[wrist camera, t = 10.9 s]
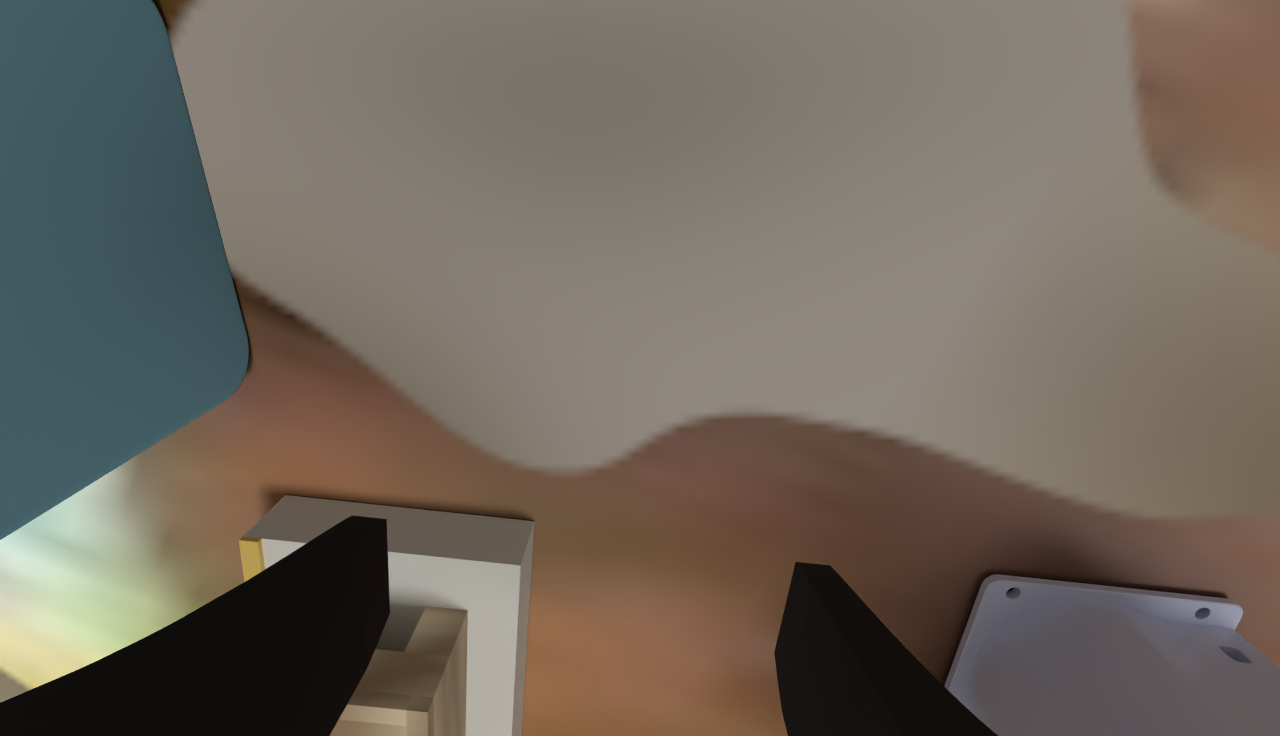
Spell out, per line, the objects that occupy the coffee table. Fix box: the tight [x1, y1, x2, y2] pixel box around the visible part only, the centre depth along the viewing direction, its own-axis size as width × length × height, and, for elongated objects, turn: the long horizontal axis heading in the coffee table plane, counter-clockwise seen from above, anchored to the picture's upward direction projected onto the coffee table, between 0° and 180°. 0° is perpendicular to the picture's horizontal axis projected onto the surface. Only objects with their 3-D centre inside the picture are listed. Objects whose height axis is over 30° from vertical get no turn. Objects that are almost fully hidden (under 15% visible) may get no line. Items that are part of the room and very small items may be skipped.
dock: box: [239, 495, 534, 736], centre depth 24 cm, size 9×14×3 cm, turn 174°
